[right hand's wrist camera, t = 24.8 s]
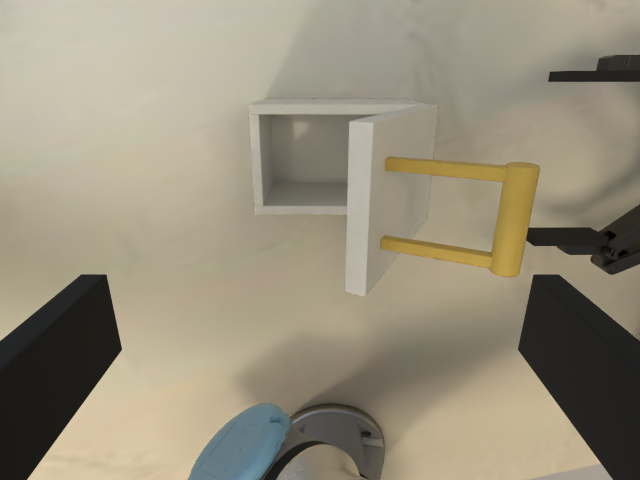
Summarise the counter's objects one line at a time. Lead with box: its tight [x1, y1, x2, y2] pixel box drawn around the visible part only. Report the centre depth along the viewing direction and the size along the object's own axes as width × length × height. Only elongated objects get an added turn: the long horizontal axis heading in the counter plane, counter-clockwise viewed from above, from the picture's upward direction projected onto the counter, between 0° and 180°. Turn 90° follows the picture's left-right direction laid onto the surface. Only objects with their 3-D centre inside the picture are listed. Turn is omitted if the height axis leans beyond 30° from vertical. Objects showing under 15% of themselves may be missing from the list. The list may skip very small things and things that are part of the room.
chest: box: [248, 99, 428, 215], centre depth 40 cm, size 15×10×10 cm, turn 90°
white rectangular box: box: [345, 105, 540, 297], centre depth 27 cm, size 16×10×9 cm
